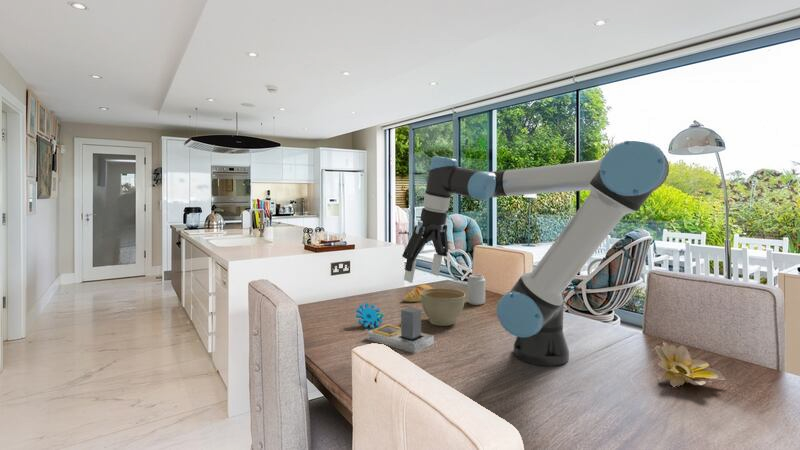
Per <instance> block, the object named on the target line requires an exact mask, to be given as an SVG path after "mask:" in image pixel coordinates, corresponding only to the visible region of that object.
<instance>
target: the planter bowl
mask: <svg viewBox="0 0 800 450" xmlns="http://www.w3.org/2000/svg"><path fill="white" fill-rule="evenodd" d="M465 299H466V293H465V292H464V291H462V290H458V289H454V288H448V287H447V288H446V287H441V288H440V287H433V289H426V290H423V291H421V301H422V302H421V305H422V309H423V311H424V313H425V315H426V317H427V318H428V321H429V323H430V324H432V325H434V326H435V325H436V326H440V327H441V326H442V327H443V326H444V327H446V326H452V325H455V324H456V322H457V321H456V320H457V319H458V318H459V317H460V316H461V313H462V312H463V309H464V307H465Z"/></svg>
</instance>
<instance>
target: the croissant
mask: <svg viewBox="0 0 800 450" xmlns="http://www.w3.org/2000/svg"><path fill="white" fill-rule="evenodd" d="M433 288H434V287H433V286H431V285H429V284H425V283H421V284H419V285H417V286H415V287H414V288H413V289H411V291H410V292H407V294H406V295H405V296H403V298H402V300H403V301H404V302H406V303H407V302H409V303H412V302H415V303H417V302H419V303H420V302H421V303H422V301H421V291H423V290H426V289H433Z"/></svg>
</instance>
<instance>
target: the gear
mask: <svg viewBox="0 0 800 450" xmlns="http://www.w3.org/2000/svg"><path fill="white" fill-rule="evenodd" d="M369 305H370V303H368V302H365V304H363V303H362V304H360V305H359V307H358V308H357V309H356V311H355V312H357V313H356V315H355V317H356V318H357V319H358V318H360V319H358V323H359V325H360V324H362V323H363V327H364V328H366V329H367V328H368V325H369V324H370V326H369V328H370V330H373V329H375V328H378V327H380V324H381V323H382V322H383V319H382V317H384V316H385V315H386V313H385V312H382V313H381V312H380V311H381V310H380V308H379V307H377V308H375V307H376V305H375V304H374V303H372V304H371V305H370V307H369ZM364 307H365V308H364ZM379 312H380V313H379ZM374 323H375V325H374Z"/></svg>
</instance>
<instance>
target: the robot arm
mask: <svg viewBox="0 0 800 450" xmlns="http://www.w3.org/2000/svg"><path fill="white" fill-rule="evenodd" d="M669 166H670V165H669V161H668V159H667V157H666V155H665V153H664V152H663V151H662V149H661V148H660V147H658V146H657V145H655V144H654V143H652V142H649V141H646V140H642V139H629V140H624V141H622V142H620V143H619V142H618V144H616V145H613V146H612V147H611V148H610V149H609V150H608V151H607V152H606V153H605V155H603V156H601V158H600V159H596V160H588V161H578V162H569V163H560V164H552V165H551V164H550V165H541V166H535V167H524V168H516V169H506V170H498V171H497V170H495V171H486V170H485V171H484V170H475V169H469V168H464V167H460V166H458V160H457V159H456V158H452V157H446V156H442V155H441V156H439V155H435V156H433V157H432V158H431V161H430V165H429V169H428V176H427V181H426V187H425V193H424V198H423V203H422V206H423V207H422V209H421V213H420V221H421V223H422V224H421V226H419V225H414V229H413V231H412V235H411V236H410V238H409V240H408V243H407V245H406V247H405V249H404V251H403V253H402V258H403V259H406V262H405V267H404V269H405V272H404V276H403V280H404V281H406V282H408V283H410V284H411V283H413V282H414V277H415V271H416V265H417V260H416V259H417V257H418V256H419V254H420V252H421V251H422V250H423V248H424V247H425V245H426V244H428V243H429V242H431V241H432V244H433V247H434V250H435V252H436V253H433V259H432V264H431V268H430V274H431V275H434V276H436V277H439V276H440V271H441V265H442V261H443V257H446V256H447V255H448V252H449V245H448V244H449V243H448V234H447V232H448V225H447V224H446V222H447V217H448V213H447V212H448V210H449V207H450V202H451V197H452V194H455V195H460V196H464V197H466V198H471V199H474V200H479V201H488V200H489V199H490V198H498V197H507V196H508V197H509V196H510V197H511V196H522V195H523V196H524V195H536V194H537V195H538V194H553V193H564V192H565V193H567V192H569V193H570V192H581V191H582V192H583V191H589V195H588V196H587V197H586V199H585V200H583V201H584V202H583V203H582V204H581V205H580V206H579V208H578V209H577V211H576V212H575V214H574V215H573V216H572V218H571V219H570V220H569V221H568V223H567V225H566V226H565V227H564V228H563V230H562V231H561V232H560V234H559V235H558V237H557V238H556V239H555V240H554V242H553V243H552V244H551V246H550V247H549V248H548V250H547V251H546V252H545V254H544V255H543V256H542V258H541V259H540V261H539V262H538V263H537V264H536V266H535V267H534V269H533V270H532V271H531V272H524V273H522V275H521V276H520V277H519V278H518V280H517V281H516V282H515V284H514V285H513V286H512V288H511V289H510V290H509V292H506V293H504V294H503V295H502V296H501V297H500V299H499V301H498V302H497V305H496V315H497V318H498V321H499V324H500V325H501V327H502V328H503V329H504V330H505V331H506V332H508V334H510V335H513V336H514V337H515V341H514V343H513V347H512V349H513V355H514V357H516V358H517V359H518V360H520V361H522V362H525V363H528V364H532V365H538V366H544V367H545V366H547V367H548V366H551V367H553V366H560V365H561V366H562V365H564V364H566V363H568V362H569V359H570V351H569V346H568V343H567V340H566V337H565V335H564V309H565V308H564V305H565V303H564V301H565V300H564V299H565V290H566V289H567V288H568V286H569V285H570V284H571V282H572V281H573V280H574V279H575V278H576V276H577V275H578V274H579V273H580V272H581V270H582V269H583V268H584V267H585V265H586V264H587V262H588V261H589V259H591V257H593V255H594V254H595V252H596V251H597V250H598V249H599V248H600V247H601V245H602V243H604V241H605V240H606V239H607V237H608V236H609V235H610V234H611V233H612V231H613V230H614V228H616V226H617V225H618V224H619V222H621V220H622V218H624V216H625V215H628V214H633V213H637V212H638V210H640V208H641V207H642V206H643V205H644V203H645V202H646V201H647V199H649V197H650V196H651V195H652V194H653V193H654V192H655V191H656V190H658V189H659V188H661V186H662V185H663V184H664V183H665V182H666V180H667V178H668V176H669V172H670V170H669V169H670V168H669ZM567 361H568V362H567Z"/></svg>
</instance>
